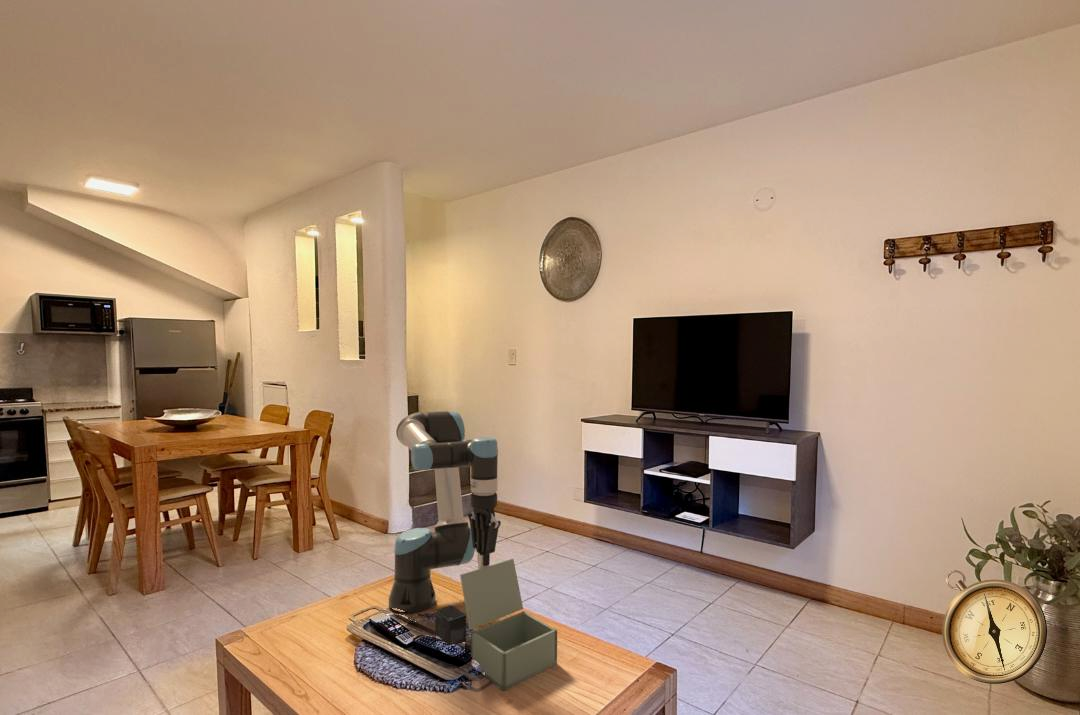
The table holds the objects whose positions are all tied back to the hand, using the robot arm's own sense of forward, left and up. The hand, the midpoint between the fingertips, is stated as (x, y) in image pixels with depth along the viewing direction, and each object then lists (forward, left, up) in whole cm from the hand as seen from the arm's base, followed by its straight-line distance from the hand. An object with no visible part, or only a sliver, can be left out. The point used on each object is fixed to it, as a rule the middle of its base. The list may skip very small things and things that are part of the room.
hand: (483, 575), depth 150 cm
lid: (+5, 0, -3) cm, 6 cm away
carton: (+14, 0, -19) cm, 24 cm away
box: (-3, -9, -19) cm, 22 cm away
